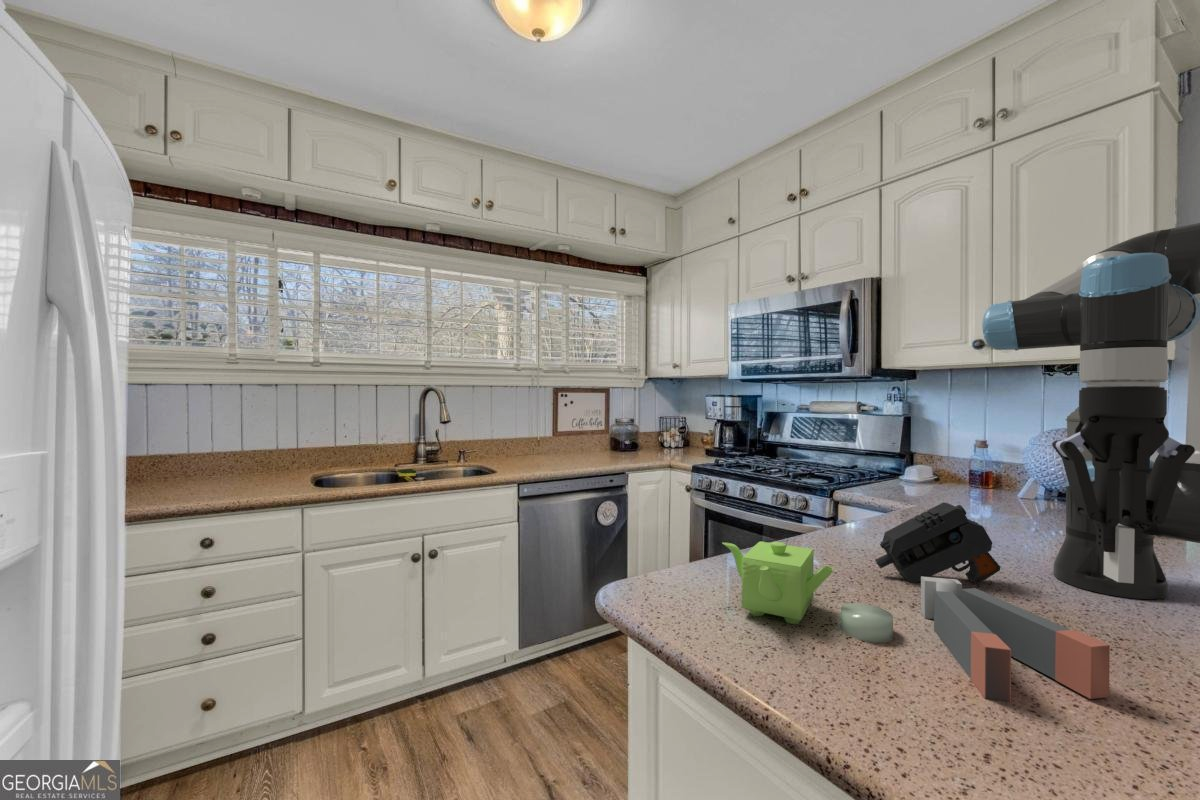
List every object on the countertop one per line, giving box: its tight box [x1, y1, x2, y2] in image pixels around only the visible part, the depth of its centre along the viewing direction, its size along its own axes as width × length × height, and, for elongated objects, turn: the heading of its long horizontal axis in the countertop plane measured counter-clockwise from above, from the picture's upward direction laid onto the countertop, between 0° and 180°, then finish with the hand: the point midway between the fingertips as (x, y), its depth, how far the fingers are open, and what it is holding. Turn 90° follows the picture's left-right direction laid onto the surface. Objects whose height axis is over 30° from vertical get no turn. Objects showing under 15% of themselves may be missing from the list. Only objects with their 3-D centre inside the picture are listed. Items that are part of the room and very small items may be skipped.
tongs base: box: [920, 576, 1012, 703], centre depth 72 cm, size 24×5×7 cm, turn 164°
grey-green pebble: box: [840, 602, 894, 644], centre depth 78 cm, size 7×7×3 cm
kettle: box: [721, 541, 835, 625], centre depth 85 cm, size 15×14×11 cm
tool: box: [874, 501, 1001, 586], centre depth 99 cm, size 6×19×15 cm, turn 78°
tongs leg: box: [961, 587, 1111, 700], centre depth 69 cm, size 18×3×6 cm, turn 9°
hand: (1118, 578), depth 63 cm, fingers closed
